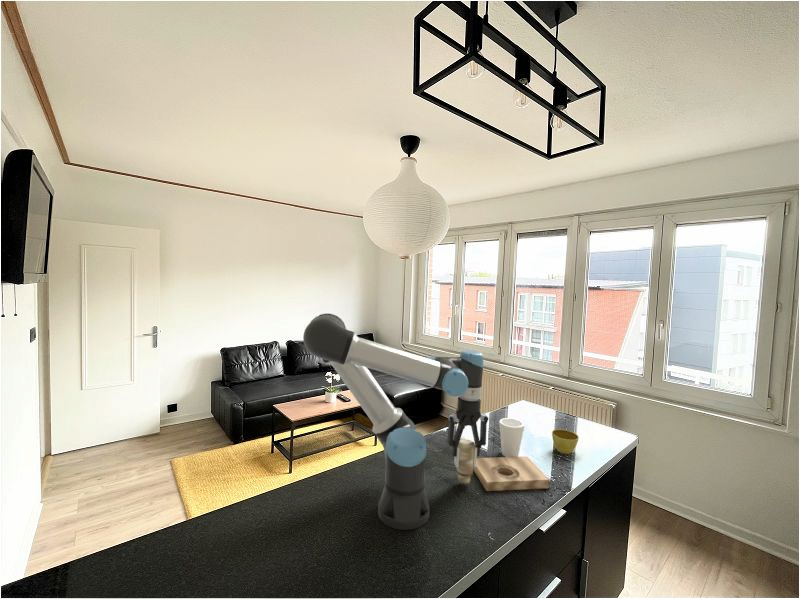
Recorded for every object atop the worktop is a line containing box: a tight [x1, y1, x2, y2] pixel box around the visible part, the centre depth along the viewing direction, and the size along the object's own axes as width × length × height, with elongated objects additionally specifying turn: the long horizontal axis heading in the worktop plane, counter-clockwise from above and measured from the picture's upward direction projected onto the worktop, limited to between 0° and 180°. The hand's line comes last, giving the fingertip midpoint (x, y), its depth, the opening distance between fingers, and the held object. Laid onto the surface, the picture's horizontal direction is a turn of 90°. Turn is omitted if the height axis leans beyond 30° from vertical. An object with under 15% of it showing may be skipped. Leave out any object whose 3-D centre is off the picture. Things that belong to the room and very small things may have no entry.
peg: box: [456, 438, 475, 484], centre depth 124 cm, size 6×6×13 cm
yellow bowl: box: [551, 428, 580, 455], centre depth 152 cm, size 10×10×7 cm
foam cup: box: [498, 417, 525, 457], centre depth 148 cm, size 10×9×13 cm
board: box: [473, 455, 550, 492], centre depth 131 cm, size 22×16×3 cm
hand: (464, 464), depth 124 cm, fingers closed on peg, 5 cm apart
